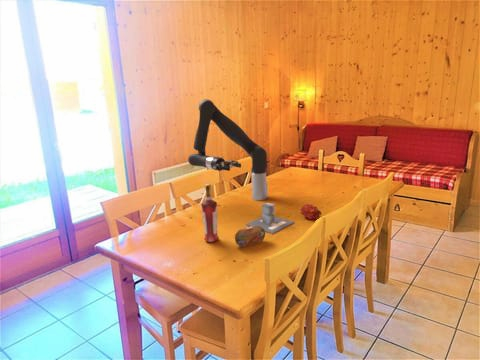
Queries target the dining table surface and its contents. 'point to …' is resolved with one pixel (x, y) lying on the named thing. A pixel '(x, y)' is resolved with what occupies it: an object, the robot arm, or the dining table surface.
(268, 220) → the grey block
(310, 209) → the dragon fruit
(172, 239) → the dining table surface
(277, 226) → the letter board
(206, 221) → the liquor
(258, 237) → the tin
